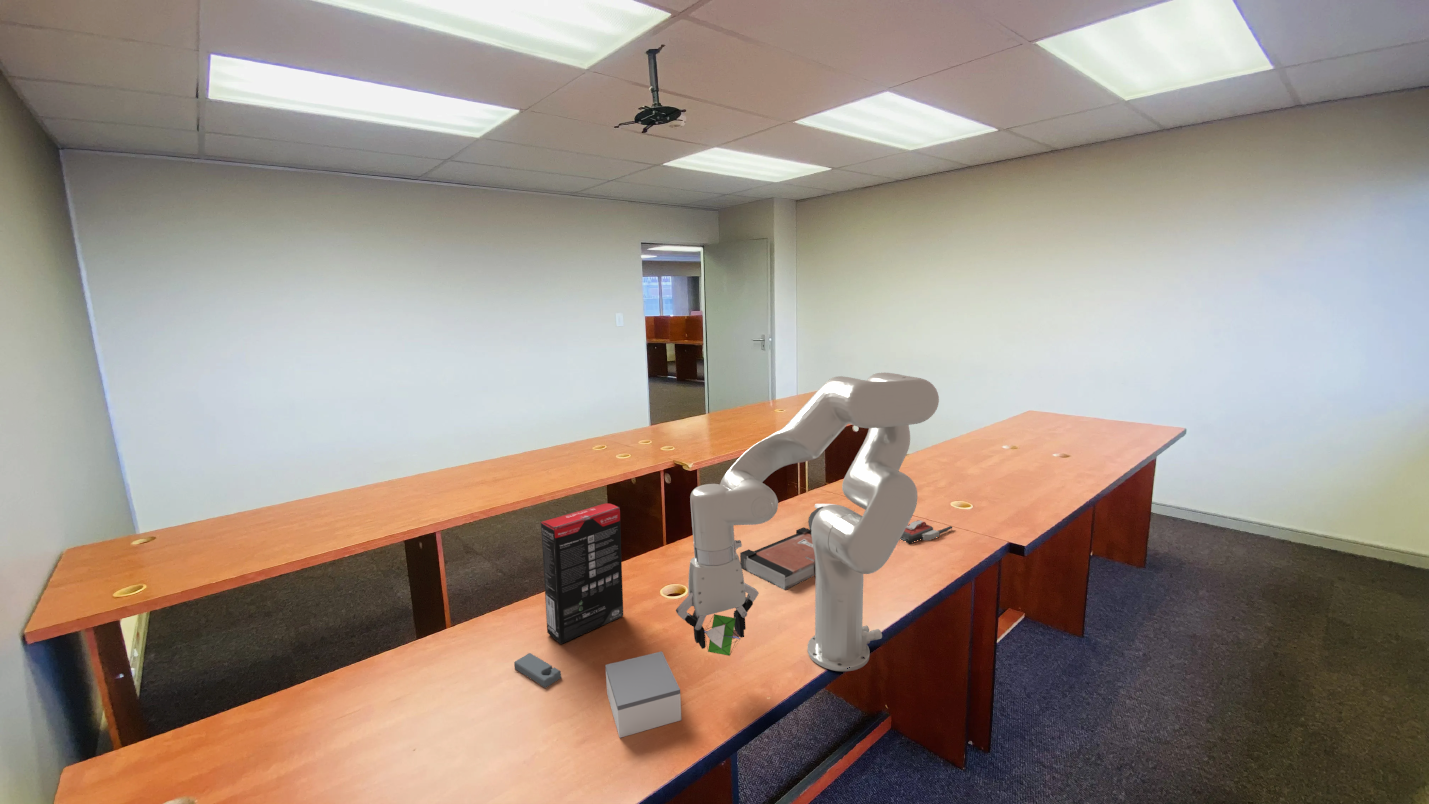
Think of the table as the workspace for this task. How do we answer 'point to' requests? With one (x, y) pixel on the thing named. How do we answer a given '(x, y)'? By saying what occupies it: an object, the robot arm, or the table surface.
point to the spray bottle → (812, 515)
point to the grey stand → (642, 693)
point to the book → (783, 560)
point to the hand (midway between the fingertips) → (720, 638)
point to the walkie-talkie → (920, 532)
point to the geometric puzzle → (721, 635)
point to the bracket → (537, 670)
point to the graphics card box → (582, 571)
